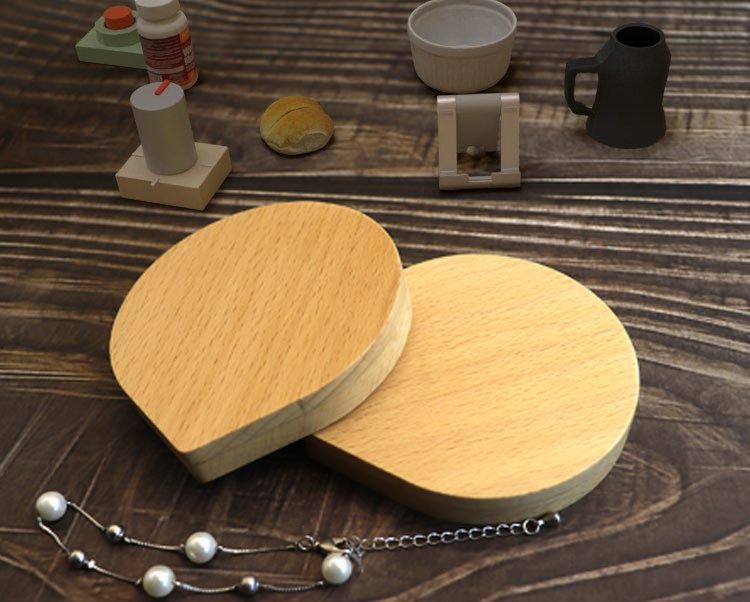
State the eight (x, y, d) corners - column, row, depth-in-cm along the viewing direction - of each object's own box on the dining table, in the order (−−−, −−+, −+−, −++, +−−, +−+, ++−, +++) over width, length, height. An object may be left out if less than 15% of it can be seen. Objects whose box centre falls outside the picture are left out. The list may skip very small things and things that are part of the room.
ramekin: (536, 67, 127) (540, 15, 122) (468, 113, 120) (469, 59, 115) (455, 35, 133) (455, -16, 128) (386, 77, 127) (384, 25, 122)
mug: (654, 101, 120) (668, 11, 112) (675, 144, 114) (693, 52, 105) (553, 110, 120) (560, 20, 112) (569, 154, 113) (578, 62, 105)
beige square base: (117, 202, 112) (110, 178, 110) (157, 153, 118) (151, 129, 116) (199, 215, 109) (194, 191, 107) (235, 164, 116) (231, 140, 113)
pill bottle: (201, 89, 127) (184, 3, 119) (152, 98, 127) (132, 11, 118) (196, 65, 132) (179, -19, 123) (148, 73, 131) (128, -11, 123)
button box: (79, 61, 134) (70, 32, 131) (108, 32, 139) (100, 4, 136) (146, 69, 132) (139, 40, 129) (173, 39, 137) (167, 11, 134)
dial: (184, 178, 109) (169, 110, 103) (137, 171, 110) (119, 104, 104) (205, 149, 113) (191, 82, 107) (160, 143, 114) (144, 76, 108)
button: (101, 29, 132) (98, 17, 131) (114, 17, 135) (111, 4, 133) (126, 32, 131) (123, 20, 130) (139, 19, 134) (136, 7, 132)
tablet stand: (439, 194, 110) (439, 126, 104) (437, 152, 115) (436, 86, 109) (519, 190, 109) (524, 123, 103) (513, 149, 115) (517, 82, 109)
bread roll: (314, 108, 123) (311, 78, 120) (343, 145, 117) (340, 114, 114) (250, 126, 121) (245, 96, 118) (276, 164, 115) (271, 134, 112)
